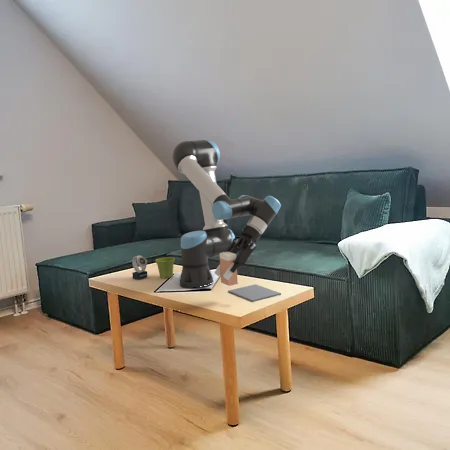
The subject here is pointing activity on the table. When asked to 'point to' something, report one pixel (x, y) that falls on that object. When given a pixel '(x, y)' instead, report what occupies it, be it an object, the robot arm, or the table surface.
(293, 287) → the table surface
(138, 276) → the watch
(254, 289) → the slate mat
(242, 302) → the table surface
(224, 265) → the block
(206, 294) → the table surface
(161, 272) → the plant pot
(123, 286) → the table surface
